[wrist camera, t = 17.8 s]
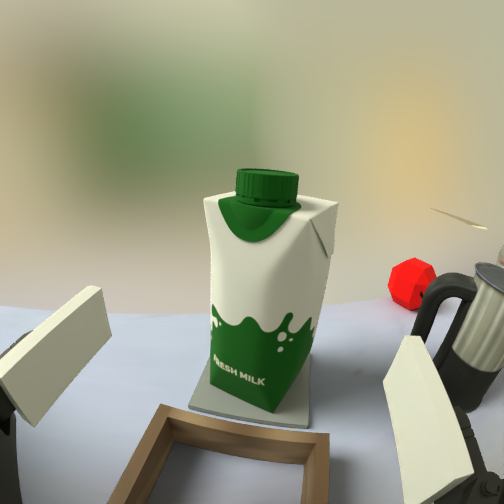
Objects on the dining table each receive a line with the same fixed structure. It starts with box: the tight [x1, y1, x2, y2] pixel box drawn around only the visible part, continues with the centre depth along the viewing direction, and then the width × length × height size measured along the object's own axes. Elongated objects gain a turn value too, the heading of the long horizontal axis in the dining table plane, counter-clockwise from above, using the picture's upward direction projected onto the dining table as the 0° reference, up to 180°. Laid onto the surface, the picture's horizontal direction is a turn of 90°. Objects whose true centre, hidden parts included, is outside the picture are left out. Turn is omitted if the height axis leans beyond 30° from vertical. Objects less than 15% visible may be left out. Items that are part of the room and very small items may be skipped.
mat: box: [188, 352, 310, 429], centre depth 27 cm, size 11×11×1 cm
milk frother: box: [410, 262, 504, 412], centre depth 19 cm, size 14×16×15 cm
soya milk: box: [204, 169, 338, 414], centre depth 23 cm, size 9×9×20 cm
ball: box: [388, 258, 437, 310], centre depth 42 cm, size 8×8×8 cm
